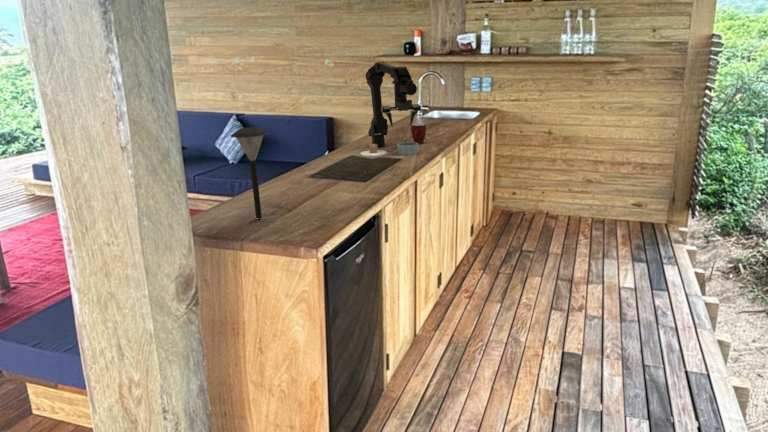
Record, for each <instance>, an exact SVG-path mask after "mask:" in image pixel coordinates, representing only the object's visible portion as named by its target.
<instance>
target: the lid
mask: <svg viewBox="0 0 768 432" xmlns="http://www.w3.org/2000/svg"><path fill="white" fill-rule="evenodd" d="M387 152H388V151H386V150H383V149H378V148H377V144H372V143H369V144H368V150H364V151H361V152H359V153H360V155H361V156H365V157H376V156H383V155H386V154H387ZM365 157H364V158H365ZM383 157H384V156H383Z"/></svg>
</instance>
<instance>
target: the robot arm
mask: <svg viewBox="0 0 768 432" xmlns="http://www.w3.org/2000/svg"><path fill="white" fill-rule="evenodd" d="M386 74H387V75H389V76H390V78H392V79H393V81H392V82H391V84H393V87H394V90H393V92H394V106H390V105H389V104H388V105H387V104H386V105H383V104H382V102H383V101H382V91H381V86H382V84H383V82H384V79H383V78H384V77H385V75H386ZM365 80H366V83H367V85H368V86H369V88H370V95H371V103H372V104H371V105H372V115H373V117H372V119H371V122H370V127H369V130H368V132H367V133H368V136H369V137H371V144H377V149H380V148H384V147H385V148H386V143H385V142H386V140H385V136H388V131H389V125H388V121H389V124H390V127H391V128H393V118H392V112H391V111H397V112H402V111H405V112H407V111H409V110H410V112H409V126H410V127H411V125H412V124H413V121H414V118H415V116H416V114H417V113H419V112H421V111H422V106H421V105H420V104H419V103H413V101H412V99H407V95H408V96H413V95H415V94H416V93H417V89H418V87H417V85H416V83H414V80H413V78H412V76H411V74H410V71H409V69H408V67H407V66H403V65H402V66H395V65H392V64H390V63H387V62H385V61H376V62H375V63H374V65H372V66H371V67H370V68H368V70H367V71H366V73H365ZM384 115H386V116H387V118H388V119H387V118H385V117H384Z"/></svg>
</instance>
